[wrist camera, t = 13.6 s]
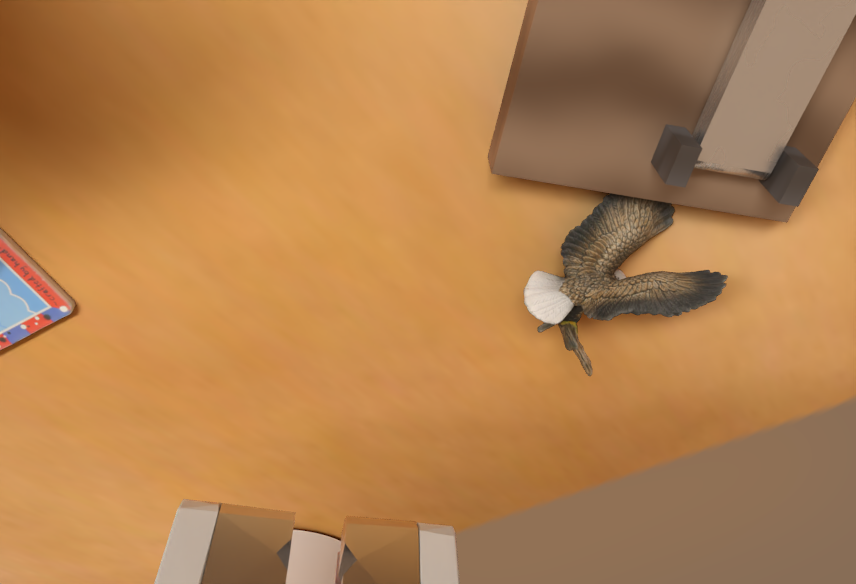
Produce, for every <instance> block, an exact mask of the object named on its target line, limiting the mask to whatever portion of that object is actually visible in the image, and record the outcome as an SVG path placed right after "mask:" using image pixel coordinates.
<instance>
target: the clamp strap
mask: <svg viewBox="0 0 856 584" xmlns="http://www.w3.org/2000/svg"><path fill="white" fill-rule="evenodd" d="M855 15H856V0H752V1H751V3H750V5H749V7H748V10H747V12H746V14H745V17H744V19H743V21H742V23H741V26H740V28H739V30H738V32H737V35H736V37H735V39H734V41H733V44H732V46H731V48H730V50H729V53H728V55H727V57H726V59H725V62H724V64H723V66H722V68H721V71H720V73H719V75H718V77H717V80H716V82H715V84H714V86H713V89H712V91H711V93H710V95H709V98H708V100H707V102H706V104H705V107H704V109H703V111H702V113H701V116H700V118H699V120H698V122H697V125H696V127H695V129H694V131H693V134H692V136H693V137H694V139H695V140H696V141H697V142H698V144H699V145H700V146H701V147H702V148H703V149H702V151H701V153H700V155H699V158H698V160H697V162H696V164H695V167H694V168H697V169H703V170H709V171H715V172H720V173H726V174H732V175H738V176H744V177H749V178H755V179H761V180H765V179H767V178H768V177H769V176H770V174H771V173H772V171H773V169H774V167H775V165H776V163H777V161H778V159H779V158H780V156H781V154H782V152H783V150H784V148H785V146H786V144H787V143H788V141H789V139H790V137H791V135H792V133H793V131H794V129H795V127H796V126H797V124H798V122H799V120H800V118H801V116H802V114H803V112H804V111H805V109H806V107H807V105H808V103H809V101H810V99H811V97H812V96H813V94H814V92H815V90H816V88H817V86H818V84H819V82H820V80H821V79H822V77H823V75H824V73H825V71H826V69H827V67H828V65H829V64H830V62H831V60H832V58H833V56H834V54H835V52H836V50H837V49H838V47H839V45H840V43H841V41H842V39H843V37H844V35H845V33H846V32H847V30H848V28H849V26H850V24H851V22H852V20H853V18H854V17H855Z"/></svg>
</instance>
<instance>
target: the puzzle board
mask: <svg viewBox="0 0 856 584" xmlns="http://www.w3.org/2000/svg"><path fill="white" fill-rule="evenodd" d="M75 305H76V302H75V300H74V299H73V298H72V297H71V296H70V295H69V294H68V293H67V292H65V291H64V290H63V289H62V288H61V287H60V286H59V285H58V284H57V283H56V282H55V281H54V280H53V279H52V278H51V277H50V276H49V275H48V274H47V273H46V272H45V271H44V270H43V269H42V268H41V267H40V266H39V265H38V264H37V263H36V262H35V261H34V260H33V259H32V258H31V257H30V256H29V255H28V254H27V253H26V252H25V251H24V250H23V249H22V248H21V247H20V246H19V245H18V244H17V243H16V242H14V241H13V240H12V239H11V238H10V237H9V236H8V235H7V234H6V233H5V232H4V231H3V230H2V229H1V228H0V350H2V349H4V348H6V347H8V346H10V345H12V344H14V343H16V342H18V341H20V340H22V339H24V338H25V337H27V336H29V335H31V334H33V333H35V332H37V331H38V330H40V329H42V328H44V327H46V326H48V325H50V324H52V323H54V322H56V321H58V320H60V319H61V318H64V317H66V316H68V315H70V314H71V313H72V311H73V310H74V308H75Z"/></svg>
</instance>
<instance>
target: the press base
mask: <svg viewBox="0 0 856 584" xmlns="http://www.w3.org/2000/svg"><path fill="white" fill-rule="evenodd" d="M751 1H752V0H529V1H528V4H527V8H526V12H525V16H524V20H523V24H522V27H521V31H520V35H519V39H518V43H517V46H516V50H515V54H514V58H513V62H512V66H511V69H510V73H509V77H508V81H507V85H506V89H505V92H504V96H503V100H502V104H501V108H500V112H499V115H498V119H497V123H496V127H495V131H494V135H493V138H492V142H491V146H490V150H489V154H488V160H489V164H490V168H491V172H492V174H497V175H503V176H509V177H515V178H521V179H527V180H533V181H539V182H545V183H551V184H557V185H563V186H570V187H576V188H582V189H588V190H594V191H600V192H606V193H612V194H618V195H624V196H630V197H636V198H642V199H648V200H654V201H660V202H666V203H672V204H678V205H684V206H690V207H696V208H703V209H709V210H715V211H721V212H727V213H733V214H739V215H745V216H751V217H757V218H763V219H769V220H775V221H781V222H788V220H789V218H790V216H791V214H792V213H793V211H794V209H795V207H796V206H797V207H798V206H799V204H800V202H801V200H802V199H803V197H804V195H805V193H806V191H807V189H808V188H809V186H810V184H811V182H812V180H813V179H814V177H815V175H816V173H817V171H818V170H819V169H818V168H817V167H818V165H819V163H820V161H821V160H822V158H823V156H824V154H825V152H826V151H827V149H828V147H829V145H830V143H831V141H832V140H833V138H834V136H835V134H836V132H837V130H838V129H839V127H840V125H841V123H842V121H843V120H844V118H845V116H846V114H847V112H848V110H849V109H850V107H851V105H852V103H853V101H854V99H855V98H856V15H855V17H854V18H853V20H852V22H851V24H850V26H849V28H848V30H847V32H846V33H845V35H844V37H843V39H842V41H841V43H840V45H839V47H838V49H837V50H836V52H835V54H834V56H833V58H832V60H831V62H830V64H829V65H828V67H827V69H826V71H825V73H824V75H823V77H822V79H821V80H820V82H819V84H818V86H817V88H816V90H815V92H814V94H813V96H812V97H811V99H810V101H809V103H808V105H807V107H806V109H805V111H804V112H803V114H802V116H801V118H800V120H799V122H798V124H797V126H796V127H795V129H794V131H793V133H792V135H791V137H790V139H789V141H788V143H787V144H786V146H785V148H784V150H783V152H782V154H781V156H780V158H779V159H778V161H777V163H776V165H775V167H774V169H773V171H772V173H771V174H770V176H769V177H768V178H767V179H765V180H761V179H755V178H749V177H744V176H738V175H732V174H726V173H720V172H715V171H709V170H703V169H697V168H694V167H695V164H696V162H697V160H698V158H699V155H700V153H701V151H702V149H703V148H702V147H701V146H700V145H699V144H698V142H697V141H696V140H695V139H694V137H693V136H692V134H693V131H694V129H695V127H696V125H697V122H698V120H699V118H700V116H701V113H702V111H703V109H704V107H705V104H706V102H707V100H708V98H709V95H710V93H711V91H712V89H713V86H714V84H715V82H716V80H717V77H718V75H719V73H720V71H721V68H722V66H723V64H724V62H725V59H726V57H727V55H728V53H729V50H730V48H731V46H732V44H733V41H734V39H735V37H736V35H737V32H738V30H739V28H740V26H741V23H742V21H743V19H744V17H745V14H746V12H747V10H748V7H749V5H750V3H751Z"/></svg>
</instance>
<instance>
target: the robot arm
mask: <svg viewBox="0 0 856 584" xmlns="http://www.w3.org/2000/svg"><path fill="white" fill-rule="evenodd" d="M295 513H296V512H288V511H280V510H272V509H264V508H256V507H248V506H240V505H232V504H224V503H216V502H206V501H197V500H187V499H183V501H182V502H181V504H180V506H179V508H178V510H177V512H176V516H175V519H174V522H173V525H172V528H171V532H170V535H169V538H168V541H167V545H166V548H165V551H164V554H163V557H162V561H161V564H160V567H159V570H158V573H157V577H156V580H155V583H154V584H460V579H459V568H458V556H457V544H456V533H455V531H454V529H453V527H452V526H449V525H437V524H426V523H416V522H415V521H403V520H391V519H379V518H367V517H355V516H346V518H345V520H344V525H343V530H342V537H341V541H339V540H337V539H335V538H332V537H329V536H326V535H322V534H318V533H314V532H308V531H302V530H293V527H294V520H295Z"/></svg>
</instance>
